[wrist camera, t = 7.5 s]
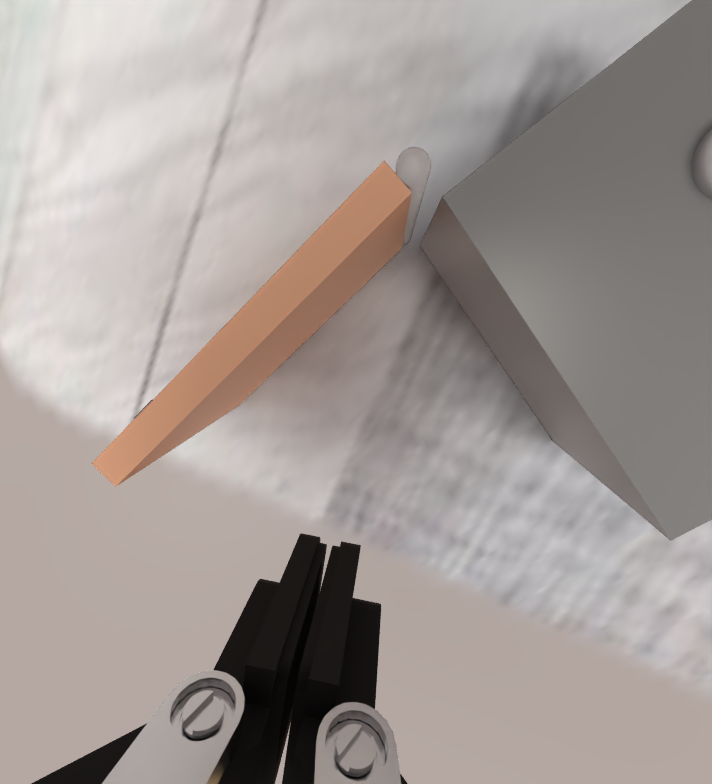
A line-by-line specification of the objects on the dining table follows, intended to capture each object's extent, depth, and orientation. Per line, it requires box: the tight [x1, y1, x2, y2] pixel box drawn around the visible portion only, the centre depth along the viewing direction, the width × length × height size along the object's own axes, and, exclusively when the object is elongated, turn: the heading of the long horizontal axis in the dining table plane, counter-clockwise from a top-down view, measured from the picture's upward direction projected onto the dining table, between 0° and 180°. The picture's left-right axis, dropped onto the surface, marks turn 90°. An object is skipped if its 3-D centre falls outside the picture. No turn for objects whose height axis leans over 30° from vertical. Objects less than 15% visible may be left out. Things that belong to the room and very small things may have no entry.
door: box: [92, 147, 431, 486], centre depth 19 cm, size 2×15×12 cm, turn 133°
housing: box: [420, 0, 712, 540], centre depth 18 cm, size 11×15×12 cm
